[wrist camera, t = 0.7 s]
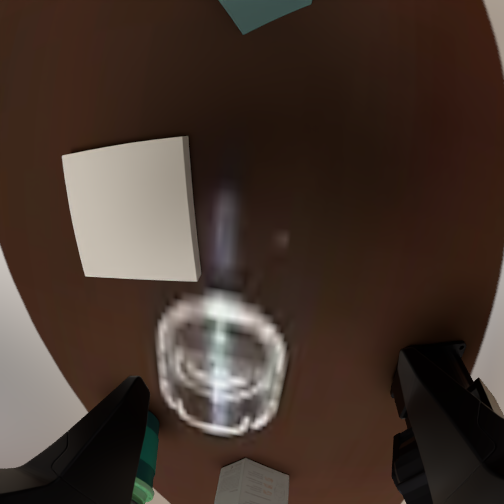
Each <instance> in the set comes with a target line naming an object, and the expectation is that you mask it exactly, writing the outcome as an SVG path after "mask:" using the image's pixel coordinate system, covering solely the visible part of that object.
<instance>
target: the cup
mask: <svg viewBox="0 0 504 504" xmlns="http://www.w3.org/2000/svg"><path fill="white" fill-rule="evenodd" d="M158 433H159V421H158V419H157V418H156V417H155V416H154V415H153V414H152V413H151V412H150V411H148V417H147V426H146V432H145V437H144V441H143V446H142V450H141V455H140V460H139V464H138V469H137V474H136V479H135V484H134V489H133V495H132V500H131V504H145V502H149V501H151V500H152V499H153V496H154V491H153V489H152V488H153V477H154V476H155V469H156V460H157V450H158V442H159V439H158Z"/></svg>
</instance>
